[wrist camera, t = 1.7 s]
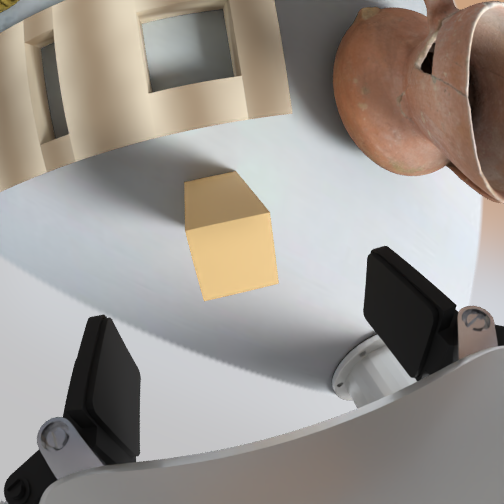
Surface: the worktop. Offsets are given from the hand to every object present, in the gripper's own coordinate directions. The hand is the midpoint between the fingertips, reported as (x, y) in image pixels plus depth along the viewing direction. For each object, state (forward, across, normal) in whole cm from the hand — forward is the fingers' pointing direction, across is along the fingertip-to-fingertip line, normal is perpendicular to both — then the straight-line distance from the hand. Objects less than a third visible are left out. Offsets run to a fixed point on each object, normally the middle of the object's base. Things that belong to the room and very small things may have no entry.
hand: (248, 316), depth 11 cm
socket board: (+15, +4, -11) cm, 20 cm away
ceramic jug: (+15, -18, -6) cm, 24 cm away
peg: (+15, 0, +1) cm, 15 cm away
